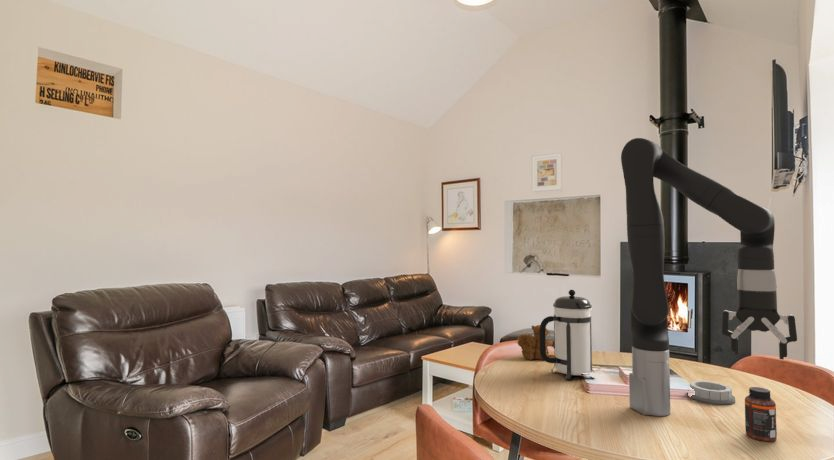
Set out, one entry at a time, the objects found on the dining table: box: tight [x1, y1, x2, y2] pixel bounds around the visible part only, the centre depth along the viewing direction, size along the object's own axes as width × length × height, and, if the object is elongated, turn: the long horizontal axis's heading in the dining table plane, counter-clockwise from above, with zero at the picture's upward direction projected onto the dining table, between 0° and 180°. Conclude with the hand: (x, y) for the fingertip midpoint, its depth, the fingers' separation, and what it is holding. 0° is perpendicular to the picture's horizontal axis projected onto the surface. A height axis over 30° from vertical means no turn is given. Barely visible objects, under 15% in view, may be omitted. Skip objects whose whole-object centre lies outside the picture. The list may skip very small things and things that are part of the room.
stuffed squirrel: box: [516, 324, 555, 361], centre depth 182 cm, size 10×14×13 cm
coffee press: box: [539, 289, 594, 382], centre depth 158 cm, size 17×16×30 cm
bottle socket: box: [689, 380, 736, 406], centre depth 135 cm, size 12×12×4 cm
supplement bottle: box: [744, 386, 778, 442], centre depth 108 cm, size 6×6×11 cm
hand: (758, 356), depth 108 cm, fingers open, 8 cm apart
